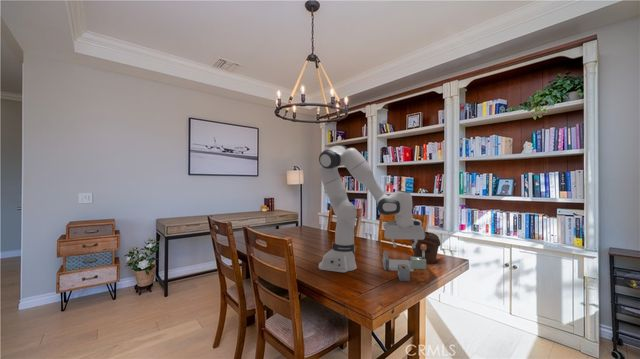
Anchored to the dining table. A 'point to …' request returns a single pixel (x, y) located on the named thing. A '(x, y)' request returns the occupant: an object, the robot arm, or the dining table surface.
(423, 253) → the ram
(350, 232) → the robot arm
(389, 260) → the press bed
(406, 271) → the block
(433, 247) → the case
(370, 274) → the dining table surface
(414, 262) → the ram guide
